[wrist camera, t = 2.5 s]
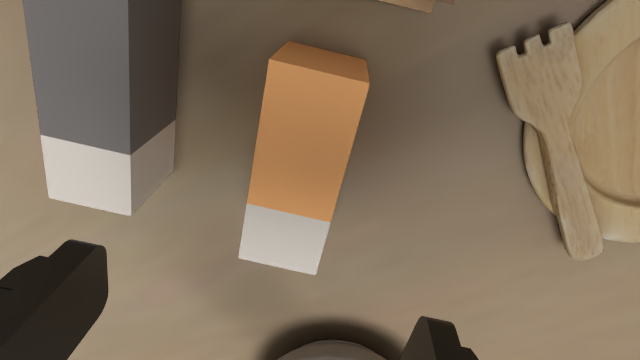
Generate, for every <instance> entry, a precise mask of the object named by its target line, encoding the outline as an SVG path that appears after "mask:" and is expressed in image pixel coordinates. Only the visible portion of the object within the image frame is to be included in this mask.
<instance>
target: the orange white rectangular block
mask: <svg viewBox="0 0 640 360" xmlns="http://www.w3.org/2000/svg"><path fill="white" fill-rule="evenodd" d="M369 86H370V80H369V75H368V69H367V63H366V60H364V59H360V58H356V57H352V56H348V55H344V54H340V53H336V52H332V51H328V50H324V49H319V48H315V47H311V46H307V45H303V44H299V43H295V42H291V41H288V42H286V43H285V44H284V45H283V46H282V47H281V48H280V49H279V50H278V51H277V52H276V53H275V54H274V55H273V56H272V57H271V58H270V59H269V63H268V69H267V76H266V82H265V89H264V95H263V102H262V108H261V115H260V121H259V128H258V134H257V141H256V147H255V154H254V160H253V167H252V173H251V180H250V186H249V193H248V199H247V205H246V212H245V218H244V225H243V231H242V238H241V244H240V251H239V257H238V258H240V259H244V260H249V261H253V262H258V263H262V264H267V265H271V266H276V267H280V268H285V269H289V270H294V271H298V272H303V273H307V274H312V275H316V272H317V269H318V265H319V262H320V258H321V255H322V251H323V248H324V244H325V240H326V237H327V233H328V230H329V226H330V223H331V219H332V216H333V212H334V209H335V205H336V202H337V198H338V195H339V191H340V188H341V184H342V181H343V177H344V174H345V170H346V167H347V163H348V159H349V156H350V152H351V149H352V145H353V142H354V138H355V135H356V131H357V128H358V124H359V121H360V117H361V114H362V110H363V107H364V103H365V100H366V96H367V93H368V89H369Z"/></svg>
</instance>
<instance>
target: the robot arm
mask: <svg viewBox="0 0 640 360" xmlns="http://www.w3.org/2000/svg"><path fill="white" fill-rule="evenodd" d="M107 297H108V274H107V254H106V249H105V247H104V246H101V245H96V244H91V243H87V242H82V241H77V240H73V239H72V240H68V241H66V242H65V243H63V244H62V245H61V246H60V247H59V248H58V249H57V250H56V251H55V252H54V253H52V254H51V255H50V256H49V257H44V256H38V257H36V258H34V259H32V260H30V261H28V262H25V263H23V264H21V265H19V266H17V267H15V268H13V269H12V270H11V271H10V272H9V273H8V274H6V275H5V276H4V277H3V278H2V279H1V280H0V360H67V359H68V358H69V356H70V355H71V354H72V352H73V351H74V350H75V348H76V347H77V346H78V344H79V343H80V342H81V340H82V339H83V338H84V336H85V335H86V334H87V332H88V331H89V330H90V328H91V327H92V325H93V324H94V323H95V321H96V320H97V319H98V317H99V316H100V314H101V313H102V311H103V309H104V306H105V304H106V301H107ZM400 360H478V358H477V357H476V355H475V354H474V353H473V351H472V350H471V349H470V348H465V347H461V345H460V341H459V338H458V335H457V332H456V329H455V326H454V324H453V323H451V322H448V321H443V320H439V319H434V318H429V317H425V316H421V317H420V318H419V319H418V321H417V323H416V325H415V327H414V330H413V332H412V334H411V336H410V338H409V340H408V342H407V344H406V346H405V348H404V350H403V352H402V355H401V358H400Z"/></svg>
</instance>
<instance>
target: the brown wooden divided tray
mask: <svg viewBox="0 0 640 360" xmlns="http://www.w3.org/2000/svg"><path fill="white" fill-rule="evenodd" d="M379 1H383V2H387V3H391V4H395V5H399V6H403V7H407V8H411V9H415V10H419V11H423V12H427V13H431V12H432V9H433V6H434V3H435V0H379ZM437 1H442V2H446V3H450V4H454V1H455V0H437Z"/></svg>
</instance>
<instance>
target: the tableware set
mask: <svg viewBox="0 0 640 360" xmlns="http://www.w3.org/2000/svg"><path fill="white" fill-rule="evenodd" d="M523 46H524V53H522V54H520V55H518V54H517V51H516V47H515V46H512V45H511V46H508V47H506V48H503V49H501V50H499V51H498V52H497V53H496V61H497V65H498V69H499V73H500V77H501V80H502V83H503V87H504V90H505V93H506V96H507V100H508V103H509V106H510V109H511V110H512V111H513V113H514V114H515V115H516V116H517V117H519V118H520V119H521V120H523V121H525V125H524V137H523V152H524V161H525V166H526V170H527V173H528V177H529V179H530V182H531V184H532V186H533V188H534V190H535V192H536V194H537V196H538V197H539V198H540V200H541V201H542V203H543V204H544V205H545V206H546V207H547V208H548V209H549V210H550V211H551V212H552V213H553V214H554V215H555V216H557V219H558V223H559V227H560V232H561V236H562V240H563V244H564V248H565V250H566V252H567V253H568V255H569V256H570V257H571V258H572V259H574V260H578V261H580V260H587V259H591V258H594V257H596V256H598V255H599V254H601V253H602V251H603V247H604V243H603V239H607V240H611V241H619V242H640V0H607V1H606V2H605V3H604V4H602V5H601V6H600V7H599V8H598V9H596V10H595V11H594V12H593V13H592V14H591V15H590V16H589V17H588V18H586V19H585V20H584V21H583V22H582V23H581V24H580V25H579V26H578V27H577V28H576V29H575V31H574V32H573V28H572V25H571V24H570V23H568V22H565V23H563V24H560V25H558V26H555V27H553V28H550V29H549V31H548V43H547V44H545V45H543V44H542V42H541V38H540V35H539V34H537V35H534V36H532V37H529V38H527V39H525V40H524V42H523Z"/></svg>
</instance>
